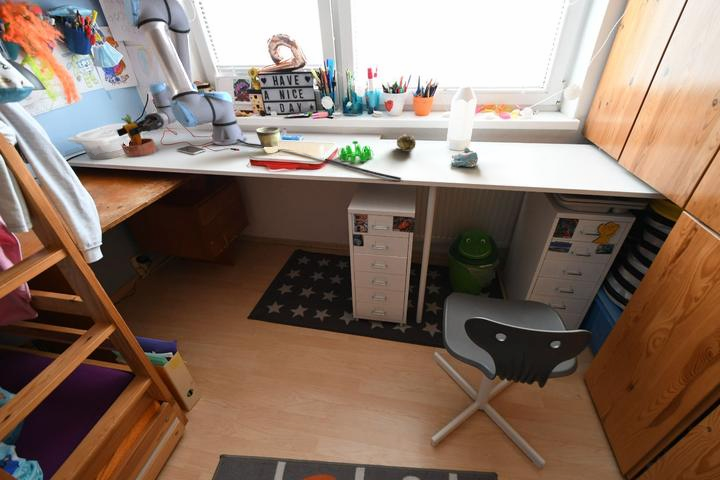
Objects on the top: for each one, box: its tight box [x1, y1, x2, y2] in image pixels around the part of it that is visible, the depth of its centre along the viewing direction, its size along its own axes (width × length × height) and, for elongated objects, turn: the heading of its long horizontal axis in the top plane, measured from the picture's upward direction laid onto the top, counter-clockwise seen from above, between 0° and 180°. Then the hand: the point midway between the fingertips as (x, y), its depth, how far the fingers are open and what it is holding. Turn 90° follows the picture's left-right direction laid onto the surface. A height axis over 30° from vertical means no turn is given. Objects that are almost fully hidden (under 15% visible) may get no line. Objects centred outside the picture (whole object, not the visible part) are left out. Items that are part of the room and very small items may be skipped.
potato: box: [396, 134, 417, 152], centre depth 139 cm, size 8×13×8 cm, turn 172°
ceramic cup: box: [255, 126, 281, 149], centre depth 146 cm, size 13×10×10 cm
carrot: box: [120, 114, 142, 146], centre depth 147 cm, size 5×5×15 cm
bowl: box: [120, 137, 158, 158], centre depth 151 cm, size 13×13×5 cm
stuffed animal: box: [450, 146, 479, 168], centre depth 124 cm, size 11×7×12 cm
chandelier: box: [337, 140, 374, 164], centre depth 134 cm, size 15×15×7 cm
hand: (124, 133), depth 143 cm, fingers closed on carrot, 5 cm apart
